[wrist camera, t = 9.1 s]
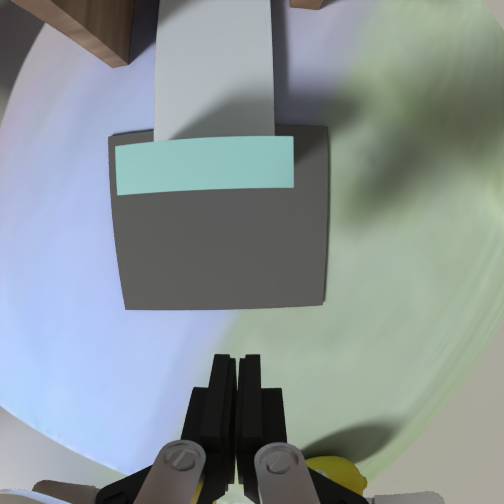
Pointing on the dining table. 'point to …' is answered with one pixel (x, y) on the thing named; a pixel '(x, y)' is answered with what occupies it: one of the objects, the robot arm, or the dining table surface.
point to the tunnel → (102, 23)
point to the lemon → (339, 472)
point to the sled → (210, 104)
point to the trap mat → (226, 237)
